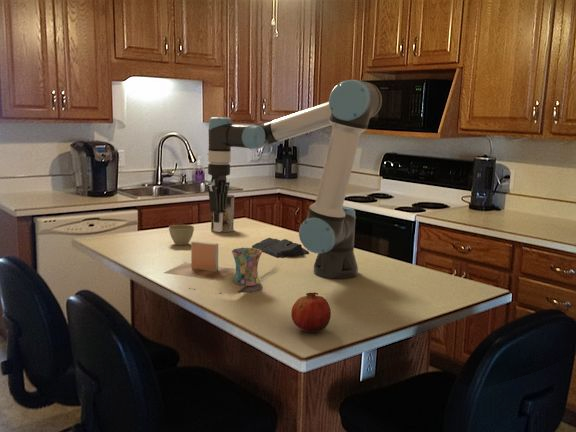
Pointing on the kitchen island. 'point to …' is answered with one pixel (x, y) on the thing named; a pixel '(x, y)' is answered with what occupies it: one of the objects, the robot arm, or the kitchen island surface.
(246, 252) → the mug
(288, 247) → the dark slate chunk
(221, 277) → the board
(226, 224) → the coffee box
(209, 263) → the tile
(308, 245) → the robot arm
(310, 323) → the fruit
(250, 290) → the coaster
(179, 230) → the flower pot
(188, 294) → the kitchen island surface
